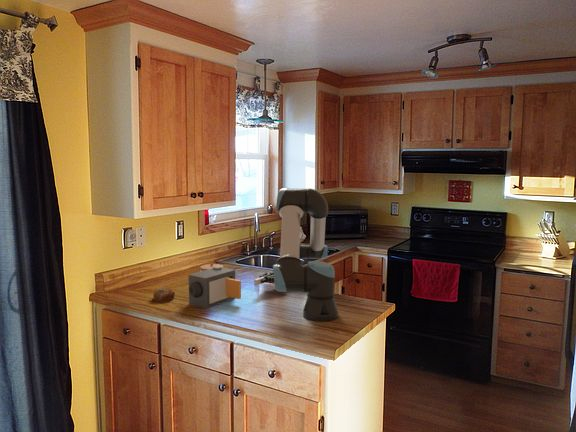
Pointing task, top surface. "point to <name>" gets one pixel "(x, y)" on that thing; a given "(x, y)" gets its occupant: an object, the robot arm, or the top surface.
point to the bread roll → (163, 294)
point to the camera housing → (206, 285)
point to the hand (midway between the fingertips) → (255, 282)
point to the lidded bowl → (209, 266)
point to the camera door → (224, 289)
